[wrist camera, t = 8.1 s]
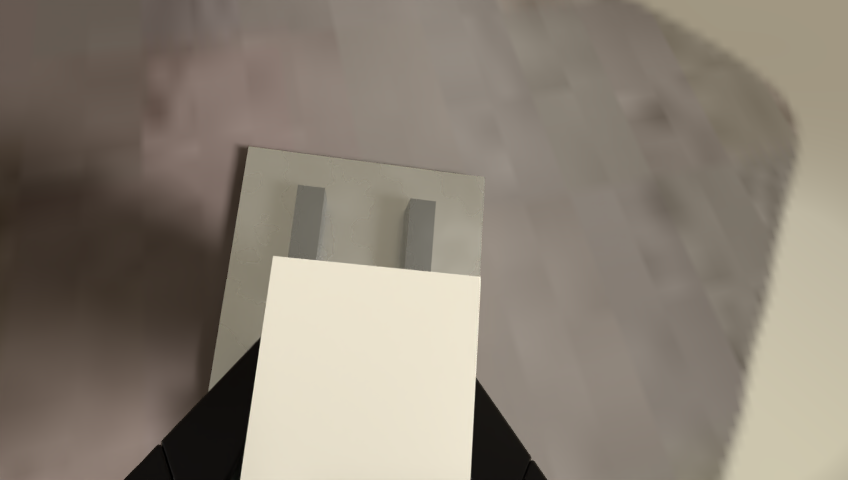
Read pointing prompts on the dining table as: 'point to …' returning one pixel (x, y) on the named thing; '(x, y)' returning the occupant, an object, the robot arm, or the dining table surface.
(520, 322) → the dining table surface
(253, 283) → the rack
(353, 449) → the cream rectangular block
